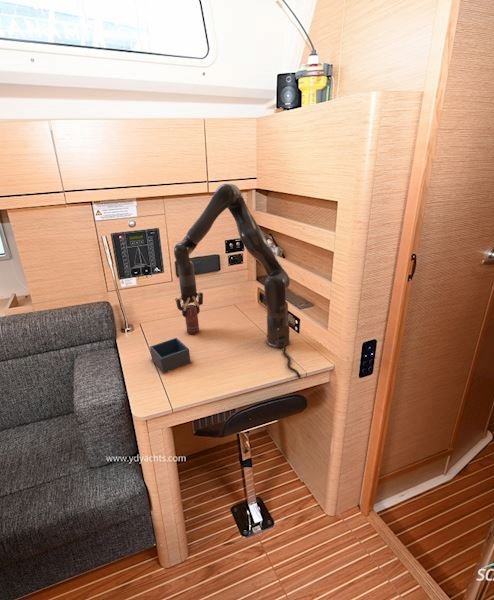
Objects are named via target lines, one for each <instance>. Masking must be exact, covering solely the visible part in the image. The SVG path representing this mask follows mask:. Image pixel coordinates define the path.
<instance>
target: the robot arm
mask: <svg viewBox="0 0 494 600" xmlns="http://www.w3.org/2000/svg"><path fill="white" fill-rule="evenodd" d="M225 210H228V211H229V212H230V214H231V215H232V217H233V219H234V221H235V224H236V228H237V232H238V235H239V238H240V240H241V242H242V244H243V246H244V247H245V249H246V251H247V252H248V254H249V255H250V256H252V258H254V260H256V261H257V262H258V263H259V264H260V266H262V268H263V269H264V271H265V273H266V276H267V278H266V279H265V281H264V285H263V287H264V288H263V290H264V303H265V305H266V342H267V345H268V346H270V347H273V348H276V349H281V348H283V351H282V354H283V355H284V357H285V358H287V364H286V365H287V368H288V369H289V370H290V371H292V372H294V373H295V374H296V376H297V378H298V379H301V375H300V373H299V371H298V370H297V369H295V368H293V367H291V357H290V356H289V355H287V353H286V350H287V346H288V345H290V324H289V316H288V315H289V302H288V301H287V299H286V297H287V296H286V295H287V294H286V292H287V290H288V288H289V287H290V284H291V279H290V276H289V274H288V273H287V271H286V270H285V268H284V267H283V266H282V264H281V263H280V262H279V260H278V258H277V257H276V255H275V253H274V251H273V249H272V248H271V246H270V244H269V242H268V240H267V238H266V237H265V235H264V233H263V231H262V230H261V227H260V226H259V225H258V223H257V221H256V219H255V218H254V216H253V214H252V213H251V211H250V210H249V208H248V206H247V203H246V200H245V198H244V196H243V194H242V192H241V189H240V188H239V187H238V186H237V185H235V184H233V183H223V184H221V185H219V186H218V187H217V188H216V190H215V192H214V193H213V195H212V197H211V199H210V200H209V202H208V204H207V206H206V207H205V209H204V210H203V212H202V213H201V214H200V216H199V217H198V218H197V220H195V222H194V223H193V224H192V225H191V227H190V228H189V229H188V231H187V232H186V235H185V237H183V239H182V240H180V241H179V242H178V243H176V244H175V245H174V247H173V254H174V258H175V261H176V264H177V267H178V277H179V278H178V279H179V288H180V297H175V299H174V300H175V303H176V304H175V305H176V307H177V310H179V311H181V315H182V317H184V319H185V318H186V317H187V315H186V307H187V306H188V305H191V304H193V305H195V306H196V307H197V314H200V306H201V305H204V293H203V292H202V291H197V281H196V280H197V279H196V274H195V266H194V263H193V262H192V260H191V259H190V255H191V254H192V253H193V252H194V250H195V249H196V248H197V247H198V245H199V244H200V242H201V241H202V240H203V239H204V238H205V237H206V236H207V234H208V233H209V232H210V230H211V229H212V227H213V225H214V223H215V222H216V220H217V219H218V218H219V216H220V215H221V214H222V213H223V212H224V211H225Z"/></svg>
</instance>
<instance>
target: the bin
mask: <svg viewBox="0 0 494 600" xmlns="http://www.w3.org/2000/svg"><path fill="white" fill-rule="evenodd" d="M149 350H150V355H151V361H152V362H153V363H154V364H155V366H156V367H157V368H158V369H159V370H160V371H161V373H162V374H165V373H168V372H170V371H173V370H175V369H178V368H181V367H183V366H186V365H188V364H191V353H190V348H189V347H188V346H186V345H185V344H184V343H183V342H182V341H181V340H180V339H179V338H178V337H174V338H171V339H168V340H165V341H162V342H159V343H156V344H153V345H150V346H149Z"/></svg>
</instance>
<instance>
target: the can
mask: <svg viewBox="0 0 494 600" xmlns="http://www.w3.org/2000/svg"><path fill="white" fill-rule="evenodd" d="M186 315H187V317H186V318H185V317H184V319H185V326H186V333H187V334H188V335H191V336H194V335H198V334H199V332H200V324H199V315H198V314H197V307H196V305H195V304H188V306H187V307H186Z"/></svg>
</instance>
